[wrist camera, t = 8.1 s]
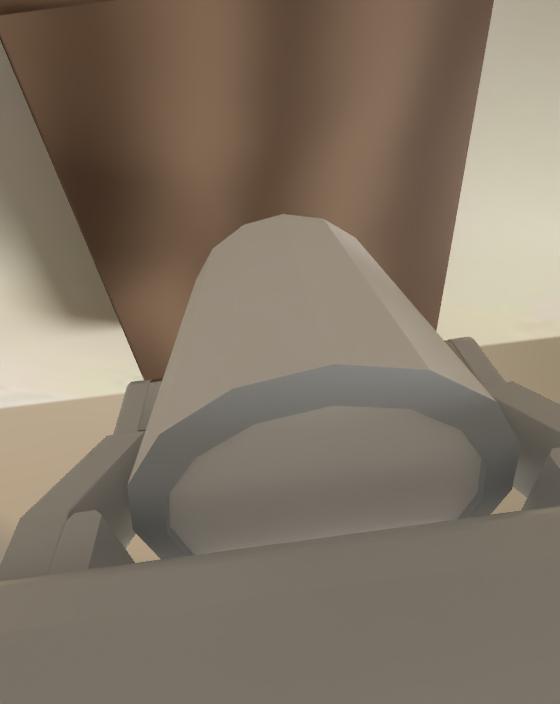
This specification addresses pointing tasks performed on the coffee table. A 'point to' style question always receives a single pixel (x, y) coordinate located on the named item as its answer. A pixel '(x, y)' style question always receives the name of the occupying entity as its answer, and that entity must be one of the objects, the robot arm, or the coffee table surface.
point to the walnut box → (249, 132)
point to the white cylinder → (310, 405)
